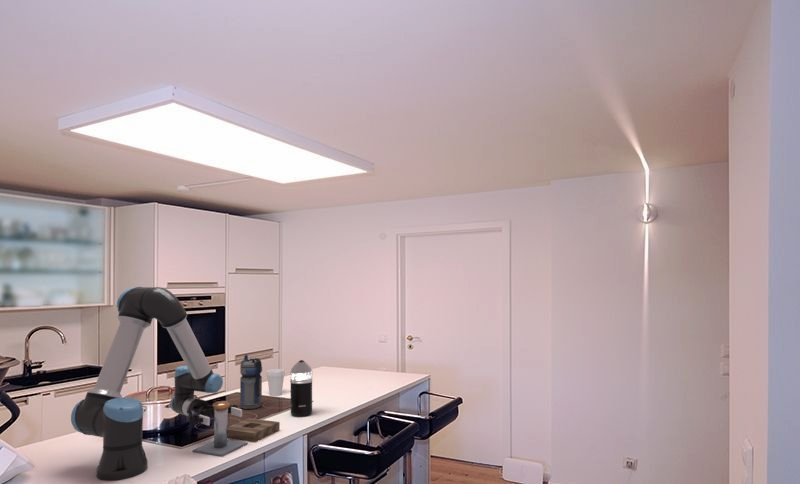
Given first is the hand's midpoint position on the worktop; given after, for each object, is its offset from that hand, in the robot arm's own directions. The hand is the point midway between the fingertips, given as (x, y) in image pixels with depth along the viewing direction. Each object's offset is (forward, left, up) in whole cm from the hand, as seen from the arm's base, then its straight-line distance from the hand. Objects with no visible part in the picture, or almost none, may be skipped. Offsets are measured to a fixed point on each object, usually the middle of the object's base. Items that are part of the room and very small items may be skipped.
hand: (225, 417), depth 193 cm
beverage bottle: (+53, +30, -12) cm, 62 cm away
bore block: (+19, +3, -12) cm, 23 cm away
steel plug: (+1, +3, -11) cm, 12 cm away
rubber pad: (+1, +3, -12) cm, 12 cm away
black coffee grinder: (+51, 0, -12) cm, 52 cm away
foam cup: (+79, +35, -12) cm, 87 cm away
